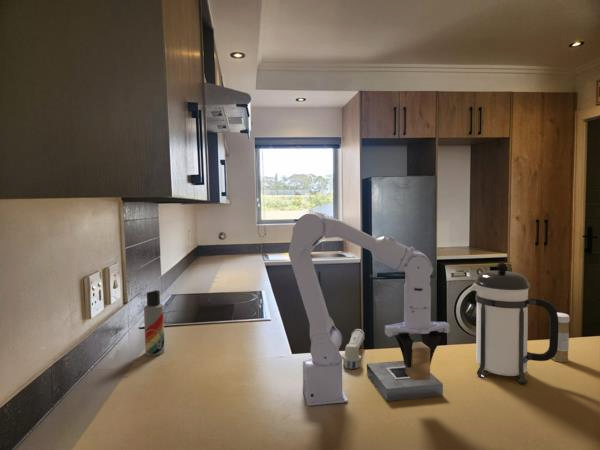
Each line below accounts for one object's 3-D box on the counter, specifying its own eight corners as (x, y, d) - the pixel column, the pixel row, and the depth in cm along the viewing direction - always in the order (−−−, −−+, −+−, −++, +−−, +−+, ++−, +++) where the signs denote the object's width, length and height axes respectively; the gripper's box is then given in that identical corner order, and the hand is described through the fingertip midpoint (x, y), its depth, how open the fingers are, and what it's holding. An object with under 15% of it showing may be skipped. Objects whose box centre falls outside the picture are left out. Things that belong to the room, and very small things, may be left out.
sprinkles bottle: (546, 355, 109) (547, 311, 108) (563, 357, 108) (564, 312, 107) (554, 362, 104) (554, 316, 104) (572, 363, 103) (572, 316, 103)
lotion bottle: (153, 357, 112) (151, 293, 111) (141, 354, 115) (139, 291, 114) (168, 351, 117) (166, 289, 116) (156, 347, 120) (154, 287, 119)
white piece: (366, 328, 125) (360, 344, 101) (366, 348, 125) (360, 369, 100) (351, 327, 126) (341, 343, 102) (351, 347, 126) (341, 368, 102)
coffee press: (501, 391, 88) (502, 269, 87) (458, 364, 104) (459, 260, 103) (559, 382, 92) (561, 265, 91) (509, 357, 108) (510, 257, 107)
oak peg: (413, 380, 80) (413, 349, 80) (405, 372, 84) (405, 342, 84) (430, 379, 81) (430, 348, 80) (421, 371, 85) (421, 341, 84)
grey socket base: (386, 401, 85) (386, 388, 85) (366, 374, 99) (366, 362, 98) (442, 395, 87) (442, 382, 87) (415, 370, 101) (415, 358, 100)
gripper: (393, 312, 77) (393, 375, 78) (457, 308, 79) (456, 370, 80) (381, 303, 84) (381, 361, 85) (440, 300, 86) (440, 357, 87)
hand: (417, 364), depth 83 cm, fingers closed on oak peg, 4 cm apart
